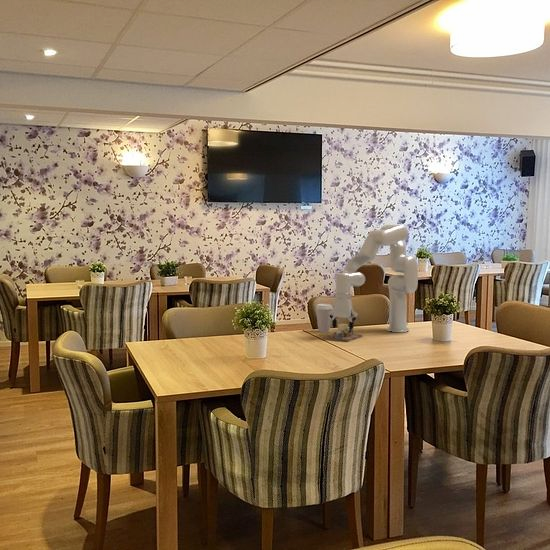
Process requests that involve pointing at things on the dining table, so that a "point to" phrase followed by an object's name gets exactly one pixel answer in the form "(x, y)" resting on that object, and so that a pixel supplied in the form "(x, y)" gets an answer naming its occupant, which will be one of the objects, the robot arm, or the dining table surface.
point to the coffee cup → (323, 317)
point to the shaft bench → (339, 336)
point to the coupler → (343, 328)
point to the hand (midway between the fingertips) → (342, 328)
